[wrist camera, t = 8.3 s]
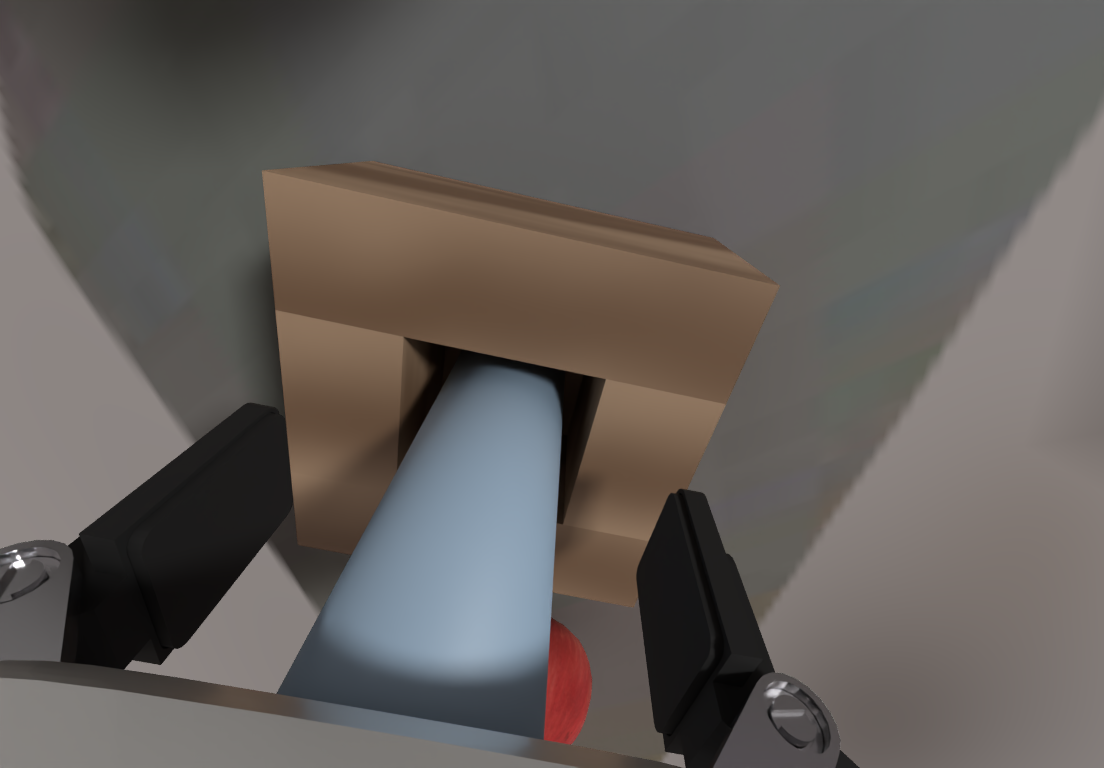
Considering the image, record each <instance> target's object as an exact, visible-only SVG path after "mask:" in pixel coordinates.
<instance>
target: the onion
mask: <svg viewBox="0 0 1104 768" xmlns="http://www.w3.org/2000/svg"><path fill="white" fill-rule="evenodd" d="M591 689H592V677H591V671H590V665H589V661H588V658H587V656H586V653H585V651H584V649H583V647H582V645H581V643H580V641H579V640H578V639H577V638H576V637H575V636H574V635H573V634H572V633H571V632H570V631H569V630H568V629H567V628H566V627H565V626H564V625H563V624H561V623H559V622H557V621H556V620H554V619H553V618H552V617H551V625H550V642H549V659H548V676H547V693H546V711H545V728H544V740H547V741H552V742H558V743H564V744H569V745H571V744H572V743H573V742H574V740H575V739H576V737H577V736H578V734H579V733H580V731H581V728H582V726H583V724H584V721H585V718H586V715H587V711H588V707H589V703H590V699H591Z"/></svg>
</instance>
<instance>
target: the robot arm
mask: <svg viewBox="0 0 1104 768" xmlns="http://www.w3.org/2000/svg"><path fill="white" fill-rule="evenodd" d="M292 503H293V495H292V485H291V474H290V464H289V454H288V444H287V434H286V423H285V418H284V417H283V416H282V415H279V411H278V410H277V409H276V408H274V407H270V406H265V405H260V404H255V403H247V404H245V405H243V406H242V407H241V408H239V409H238V410H237V411H236V412H234V413H233V414H232V415H230V416H229V417H228V418H227V419H225V420H224V421H223V422H221V423H220V424H219V425H218V426H216V427H215V428H214V429H212V430H211V431H210V432H209V433H207V434H206V435H205V436H203V437H202V438H201V439H200V440H198V441H197V442H196V443H195V444H193V445H192V446H191V447H189V448H188V449H187V450H186V451H184V452H183V453H182V454H181V455H179V456H178V457H177V458H175V459H174V460H173V461H171V462H170V463H169V464H168V465H166V466H165V467H164V468H162V469H161V470H160V471H159V472H157V473H156V474H155V475H153V476H152V477H151V478H150V479H148V480H147V481H146V482H145V483H143V484H142V485H141V486H139V487H138V488H137V489H136V490H134V491H133V492H132V493H131V494H129V495H128V496H127V497H125V498H124V499H123V500H121V501H120V502H119V503H118V504H116V505H115V506H114V507H113V508H111V509H110V510H109V511H107V512H106V513H105V514H104V515H102V516H101V517H100V518H98V519H97V520H96V521H95V522H93V523H92V524H91V525H89V526H88V527H87V528H86V529H84V530H83V531H82V532H80V533H79V535H80V537H78V538H77V539H76V540H75V541H74V542H72V543H71V544H69V545H68V546H67V545H66V544H64V543H61V542H57V541H54V540H34V541H29V542H23V543H17V544H14V545H11V546H8V547H4V548H1V549H0V768H681V767H677V766H674V765H669V764H666V763H662V762H657V761H652V760H647V759H642V758H637V757H632V756H627V755H622V754H617V753H611V752H606V751H601V750H596V749H591V748H586V747H581V746H575V745H569V744H564V743H558V742H552V741H547V740H541V739H536V738H530V737H524V736H519V735H513V734H507V733H502V732H496V731H490V730H485V729H479V728H473V727H468V726H462V725H456V724H450V723H445V722H439V721H433V720H427V719H421V718H415V717H410V716H404V715H398V714H392V713H386V712H381V711H375V710H369V709H363V708H357V707H351V706H345V705H339V704H334V703H328V702H322V701H316V700H310V699H304V698H298V697H292V696H286V695H280V694H274V693H268V692H262V691H255V690H249V689H243V688H237V687H232V686H225V685H219V684H213V683H207V682H201V681H195V680H189V679H183V678H177V677H170V676H163V675H156V674H150V673H143V672H136V671H129V670H124V669H125V668H126V666H127V665H128V664H129V663H130V662H131V661H132V660H135V661H141V662H147V663H152V664H158V665H161V664H162V663H163V662H164V660H165V659H166V658H167V656H168V655H169V654H170V653H171V652H172V650H173V649H174V648H176V649H178V648H180V647H182V646H183V645H185V644H186V643H187V642H188V640H189V639H190V638H191V637H192V636H193V634H194V633H195V632H196V630H197V629H198V628H199V626H200V625H201V624H202V623H203V621H204V620H205V619H206V618H207V616H208V615H209V614H210V613H211V611H212V610H213V609H214V607H215V606H216V605H217V604H218V603H219V601H220V600H221V599H222V597H223V596H224V595H225V594H226V592H227V591H228V590H229V589H230V587H231V586H232V585H233V583H234V582H235V581H236V580H237V578H238V577H239V576H240V575H241V573H242V572H243V571H244V570H245V568H246V567H247V566H248V564H249V563H250V562H251V561H252V559H253V558H254V557H255V556H256V554H257V553H258V552H259V550H260V549H261V548H262V547H263V545H264V544H265V543H266V542H267V540H268V539H269V538H270V536H271V535H272V534H273V533H274V531H275V530H276V529H277V528H278V526H279V525H280V524H281V523H282V521H283V520H284V519H285V517H286V516H287V515H288V513H289V511H290V509H291V507H292ZM636 582H637V590H638V598H639V606H640V614H641V622H642V630H643V638H644V646H645V654H646V662H647V670H648V678H649V686H650V694H651V702H652V710H653V718H654V724H655V728H656V730H657V732H659V733H663V738H664V746H665V752H670V753H676V754H682V755H684V760H685V766H686V768H859V767H858V766H857V765H856V764H855V763H854V762H853V761H852V760H850V759H849V758H848V757H847V756H846V755H845V754H844V753H843V752H842V751H841V750H840V741H841V740H840V736H839V733H838V728H837V725H836V723H835V721H834V719H833V717H832V715H831V713H830V711H829V710H828V708H827V707H826V706H825V704H824V703H823V702H822V700H821V699H820V698H819V697H818V696H817V695H816V694H815V693H814V692H813V691H812V690H811V689H810V688H809V687H808V686H806V685H805V684H803V683H802V682H800V681H799V680H797V679H796V678H794V677H791V676H788V675H786V674H783V673H775V671H774V668H773V665H772V663H771V660H770V657H769V654H768V652H767V649H766V646H765V643H764V641H763V638H762V635H761V632H760V630H759V627H758V624H757V621H756V619H755V616H754V613H753V610H752V608H751V605H750V602H749V600H748V597H747V594H746V591H745V589H744V586H743V583H742V580H741V578H740V575H739V572H738V569H737V567H736V564H735V562H734V560H733V558H732V557H731V556H730V555H729V554H726V553H725V550H724V547H723V544H722V541H721V538H720V536H719V533H718V530H717V527H716V524H715V521H714V519H713V516H712V513H711V510H710V507H709V504H708V501H707V499H706V496H705V494H703V493H701V492H696V491H691V490H686V489H679V490H678V491H677V492H676V494H675V493H670V494H669V496H668V498H667V500H666V502H665V505H664V507H663V509H662V512H661V514H660V516H659V518H658V521H657V523H656V525H655V528H654V530H653V532H652V535H651V537H650V539H649V541H648V544H647V546H646V548H645V551H644V553H643V555H642V558H641V560H640V562H639V564H638V568H637V573H636Z"/></svg>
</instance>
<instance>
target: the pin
mask: <svg viewBox="0 0 1104 768" xmlns="http://www.w3.org/2000/svg"><path fill="white" fill-rule="evenodd" d="M564 385H565V371H564V370H560V369H555V368H550V367H545V366H541V365H536V364H531V363H526V362H521V361H517V360H512V359H507V358H502V357H497V356H493V355H488V354H483V353H478V352H474V351H469V350H464V349H463V350H462V352H461V354H460V355H459V357H458V359H457V361H456V363H455V365H454V367H453V368H452V370H451V372H450V374H449V376H448V378H447V379H446V381H445V383H444V385H443V387H442V389H441V391H440V392H439V394H438V396H437V398H436V400H435V402H434V403H433V405H432V407H431V409H430V411H429V413H428V415H427V416H426V418H425V420H424V422H423V424H422V426H421V427H420V429H419V431H418V433H417V435H416V437H415V439H414V440H413V442H412V444H411V446H410V448H409V450H408V451H407V453H406V455H405V457H404V459H403V461H402V463H401V464H400V466H399V468H398V470H397V472H396V474H395V476H394V477H393V479H392V481H391V483H390V485H389V487H388V488H387V490H386V492H385V494H384V496H383V498H382V500H381V501H380V503H379V505H378V507H377V509H376V511H375V512H374V514H373V516H372V518H371V520H370V522H369V524H368V525H367V527H366V529H365V531H364V533H363V535H362V536H361V538H360V540H359V542H358V544H357V546H356V548H355V549H354V551H353V553H352V555H351V557H350V559H349V561H348V562H347V564H346V566H345V568H344V570H343V572H342V573H341V575H340V577H339V579H338V581H337V583H336V585H335V586H334V588H333V590H332V592H331V594H330V596H329V597H328V599H327V601H326V603H325V605H324V607H323V609H322V610H321V612H320V614H319V616H318V618H317V620H316V622H315V623H314V625H313V627H312V629H311V631H310V633H309V635H308V636H307V638H306V640H305V642H304V644H303V646H302V648H301V649H300V651H299V653H298V655H297V657H296V659H295V660H294V662H293V664H292V666H291V668H290V670H289V672H288V673H287V675H286V677H285V679H284V681H283V683H282V685H281V686H280V688H279V690H278V692H277V694H280V695H286V696H292V697H298V698H304V699H310V700H316V701H322V702H328V703H334V704H339V705H345V706H351V707H357V708H363V709H369V710H375V711H381V712H386V713H392V714H398V715H404V716H410V717H415V718H421V719H427V720H433V721H439V722H445V723H450V724H456V725H462V726H468V727H473V728H479V729H485V730H490V731H496V732H502V733H507V734H513V735H519V736H524V737H530V738H536V739H541V740H544V728H545V711H546V693H547V676H548V659H549V642H550V625H551V608H552V591H553V573H554V556H555V539H556V522H557V505H558V488H559V471H560V453H561V436H562V419H563V402H564Z"/></svg>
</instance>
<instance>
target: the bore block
mask: <svg viewBox="0 0 1104 768" xmlns="http://www.w3.org/2000/svg"><path fill="white" fill-rule="evenodd" d="M262 175H263V185H264V196H265V206H266V217H267V227H268V238H269V248H270V259H271V269H272V280H273V290H274V301H275V311H276V322H277V332H278V343H279V353H280V364H281V374H282V385H283V395H284V406H285V416H286V427H287V437H288V448H289V458H290V469H291V479H292V490H293V500H294V511H295V521H296V532H297V542H298V545H301V546H306V547H312V548H317V549H322V550H328V551H333V552H339V553H344V554H349V555H352V553H353V551H354V549H355V548H356V546H357V544H358V542H359V540H360V538H361V536H362V535H363V533H364V531H365V529H366V527H367V525H368V524H369V522H370V520H371V518H372V516H373V514H374V512H375V511H376V509H377V507H378V505H379V503H380V501H381V500H382V498H383V496H384V494H385V492H386V490H387V488H388V487H389V485H390V483H391V481H392V479H393V477H394V476H395V474H396V472H397V470H398V468H399V466H400V464H401V463H402V461H403V459H404V457H405V455H406V453H407V451H408V450H409V448H410V446H411V444H412V442H413V440H414V439H415V437H416V435H417V433H418V431H419V429H420V427H421V426H422V424H423V422H424V420H425V418H426V416H427V415H428V413H429V411H430V409H431V407H432V405H433V403H434V402H435V400H436V398H437V396H438V394H439V392H440V391H441V389H442V387H443V385H444V383H445V381H446V379H447V378H448V376H449V374H450V372H451V370H452V368H453V367H454V365H455V363H456V361H457V359H458V357H459V355H460V354H461V352H462V350H463V349H464V350H469V351H474V352H478V353H483V354H488V355H493V356H497V357H502V358H507V359H512V360H517V361H521V362H526V363H531V364H536V365H541V366H545V367H550V368H555V369H560V370H564V371H565V385H564V402H563V419H562V436H561V453H560V471H559V488H558V505H557V522H556V539H555V556H554V573H553V591H552V592H553V593H559V594H564V595H569V596H575V597H580V598H586V599H591V600H596V601H602V602H607V603H612V604H618V605H623V606H628V607H634V605H635V603H636V601H637V598H638V590H637V582H636V573H637V568H638V564H639V562H640V560H641V558H642V555H643V553H644V551H645V548H646V546H647V544H648V541H649V539H650V537H651V535H652V532H653V530H654V528H655V525H656V523H657V521H658V518H659V516H660V514H661V512H662V509H663V507H664V505H665V502H666V500H667V498H668V496H669V494H670V493H675V494H676V492H677V491H678V490H679V489H686V490H687V489H688V486H689V484H690V482H691V480H692V478H693V475H694V473H695V471H696V469H697V467H698V465H699V462H700V460H701V458H702V456H703V454H704V451H705V449H706V447H707V445H708V443H709V440H710V438H711V436H712V434H713V432H714V429H715V427H716V425H717V423H718V421H719V418H720V416H721V414H722V412H723V410H724V407H725V405H726V403H727V401H728V399H729V396H730V394H731V392H732V390H733V388H734V386H735V383H736V381H737V379H738V377H739V375H740V372H741V370H742V368H743V366H744V364H745V361H746V359H747V357H748V355H749V353H750V350H751V348H752V346H753V344H754V342H755V339H756V337H757V335H758V333H759V331H760V328H761V326H762V324H763V322H764V320H765V317H766V315H767V313H768V311H769V309H770V306H771V304H772V302H773V300H774V298H775V296H776V293H777V291H778V289H779V287H780V286H779V285H778V284H777V283H775V282H774V281H772V280H771V279H770V278H768V277H767V276H766V275H764V274H763V273H761V272H760V271H759V270H757V269H756V268H754V267H753V266H752V265H750V264H749V263H747V262H746V261H745V260H743V259H742V258H740V257H739V256H738V255H736V254H735V253H734V252H732V251H731V250H729V249H728V248H727V247H725V246H724V245H722V244H721V243H720V242H718V241H717V240H715V239H714V238H711V237H706V236H702V235H697V234H693V233H689V232H684V231H680V230H675V229H671V228H667V227H662V226H658V225H653V224H649V223H644V222H640V221H636V220H631V219H627V218H622V217H618V216H613V215H609V214H605V213H600V212H596V211H591V210H587V209H582V208H578V207H574V206H569V205H565V204H560V203H556V202H551V201H547V200H543V199H538V198H534V197H529V196H525V195H521V194H516V193H512V192H507V191H503V190H498V189H494V188H490V187H485V186H481V185H476V184H472V183H467V182H463V181H459V180H454V179H450V178H445V177H441V176H436V175H432V174H428V173H423V172H419V171H414V170H410V169H406V168H401V167H397V166H392V165H388V164H383V163H379V162H375V161H367V162H355V163H344V164H332V165H321V166H309V167H297V168H286V169H274V170H262Z"/></svg>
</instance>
